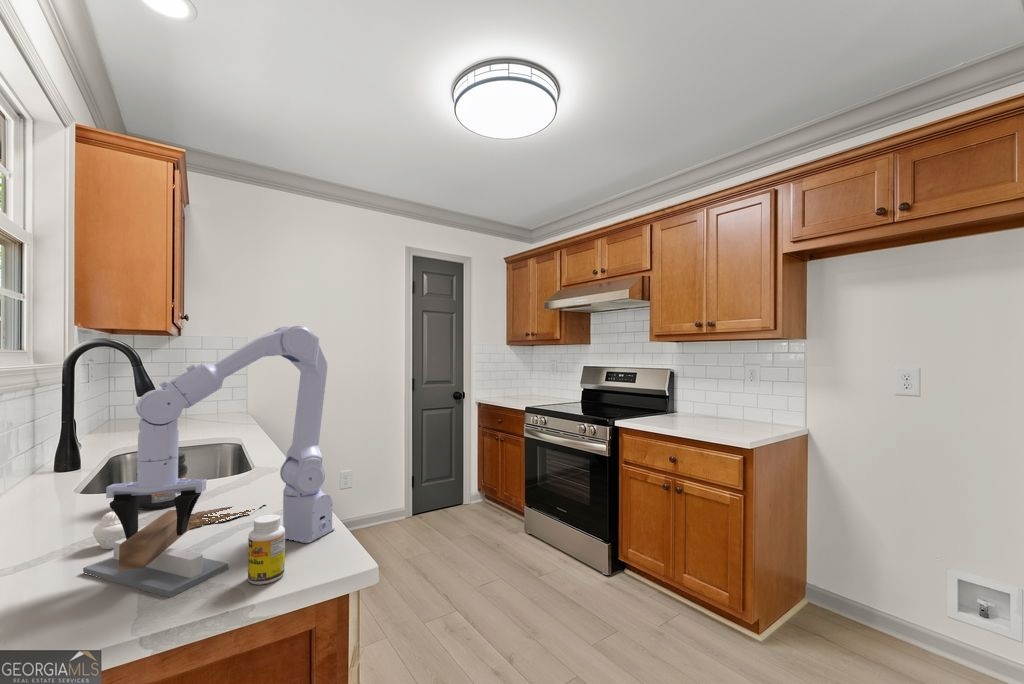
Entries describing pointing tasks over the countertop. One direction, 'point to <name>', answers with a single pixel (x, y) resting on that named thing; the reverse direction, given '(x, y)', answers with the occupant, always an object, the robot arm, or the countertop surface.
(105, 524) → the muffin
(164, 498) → the supplement container
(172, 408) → the robot arm
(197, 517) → the fossil skeleton slab
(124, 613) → the countertop surface
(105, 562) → the balance stand
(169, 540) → the walnut batten
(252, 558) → the supplement bottle
